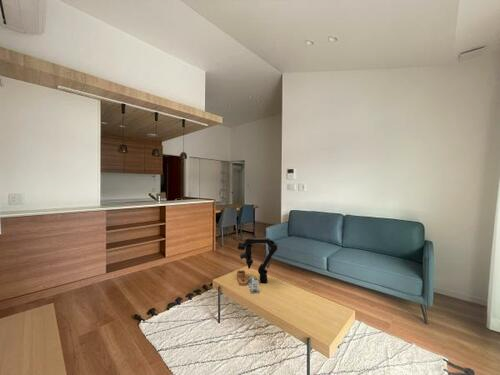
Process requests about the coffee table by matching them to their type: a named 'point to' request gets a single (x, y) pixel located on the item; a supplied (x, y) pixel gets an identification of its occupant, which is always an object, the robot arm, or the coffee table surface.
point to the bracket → (242, 278)
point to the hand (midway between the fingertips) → (248, 266)
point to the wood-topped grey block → (254, 283)
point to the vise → (250, 281)
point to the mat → (254, 291)
